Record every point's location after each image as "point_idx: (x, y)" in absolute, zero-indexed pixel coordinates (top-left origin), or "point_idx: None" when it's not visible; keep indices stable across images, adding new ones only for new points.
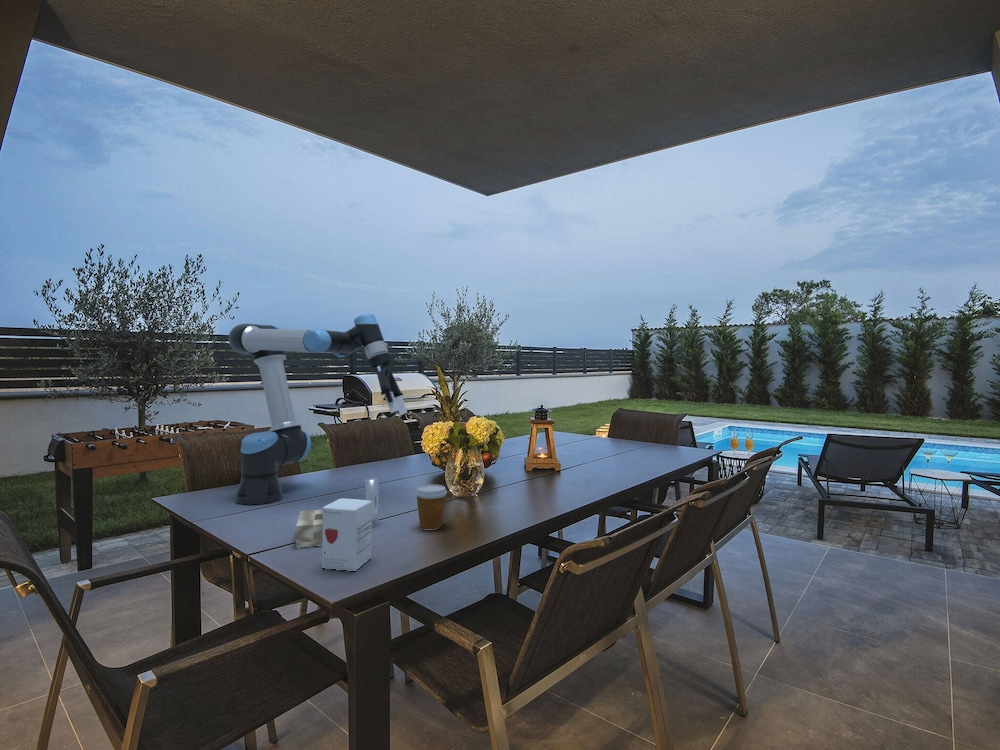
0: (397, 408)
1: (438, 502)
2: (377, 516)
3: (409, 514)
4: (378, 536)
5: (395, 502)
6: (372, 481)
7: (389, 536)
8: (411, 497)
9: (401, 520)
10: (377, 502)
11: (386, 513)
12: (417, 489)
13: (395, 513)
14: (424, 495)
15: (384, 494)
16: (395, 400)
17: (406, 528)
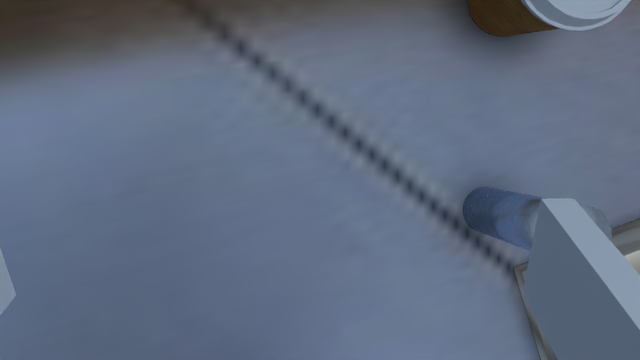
0: (584, 218)
1: None
2: (504, 190)
3: (358, 104)
4: (587, 154)
5: (195, 200)
6: (606, 223)
7: (585, 119)
8: (104, 148)
9: (430, 118)
10: (531, 195)
11: (352, 194)
12: (616, 11)
13: (349, 160)
14: None
15: (64, 285)
16: (615, 295)
17: (512, 82)
